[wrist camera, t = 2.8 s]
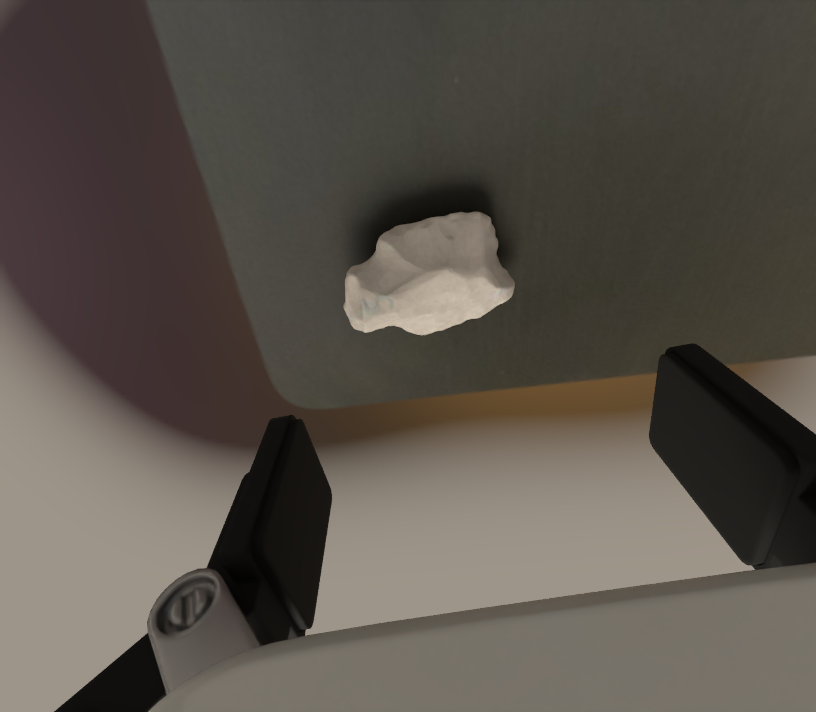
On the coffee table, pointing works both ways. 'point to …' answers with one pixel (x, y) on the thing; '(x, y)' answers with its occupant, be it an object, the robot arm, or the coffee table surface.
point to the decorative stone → (429, 276)
